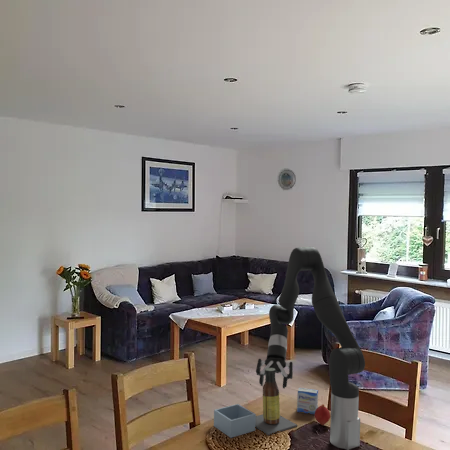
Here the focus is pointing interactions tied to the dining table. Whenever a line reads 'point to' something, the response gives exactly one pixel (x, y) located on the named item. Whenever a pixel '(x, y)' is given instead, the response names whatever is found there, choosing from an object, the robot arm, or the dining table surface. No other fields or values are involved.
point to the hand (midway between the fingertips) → (272, 386)
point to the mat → (273, 425)
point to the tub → (234, 420)
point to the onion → (322, 414)
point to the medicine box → (307, 400)
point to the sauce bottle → (271, 398)
